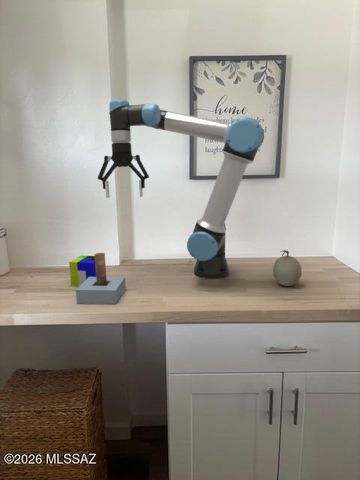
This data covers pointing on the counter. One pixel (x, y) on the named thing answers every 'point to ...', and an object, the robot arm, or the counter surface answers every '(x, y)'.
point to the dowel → (100, 269)
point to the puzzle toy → (82, 269)
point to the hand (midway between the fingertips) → (124, 197)
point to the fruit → (287, 270)
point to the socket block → (100, 291)
